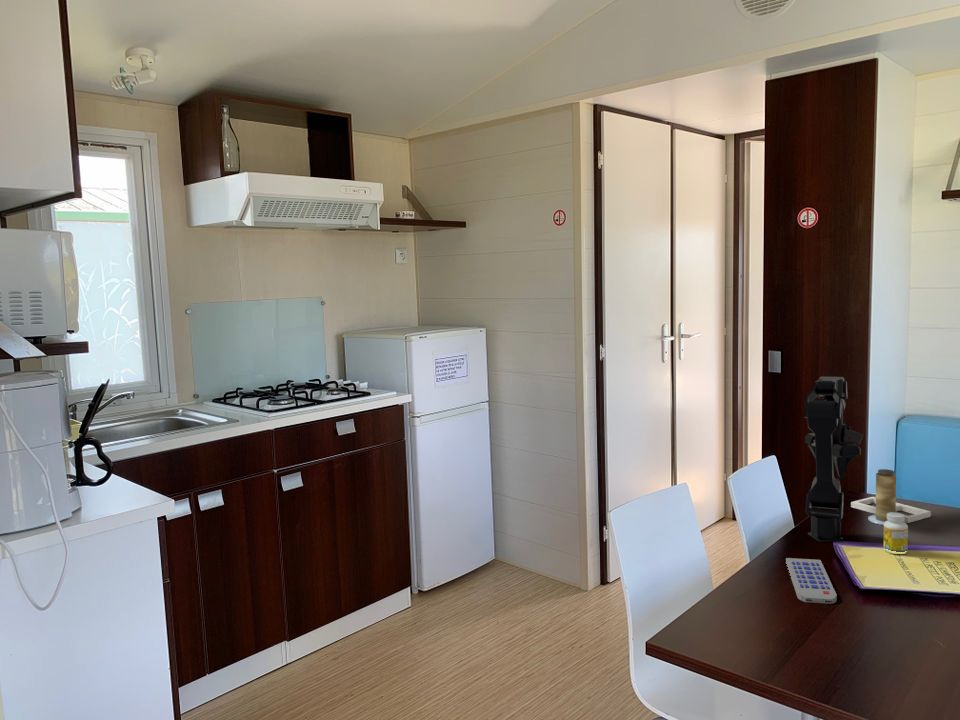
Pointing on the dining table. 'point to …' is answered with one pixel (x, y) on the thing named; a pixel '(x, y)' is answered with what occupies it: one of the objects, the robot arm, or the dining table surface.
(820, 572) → the remote control
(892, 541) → the supplement bottle
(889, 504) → the plug
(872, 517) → the coaster
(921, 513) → the holder
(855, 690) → the dining table surface
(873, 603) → the dining table surface
